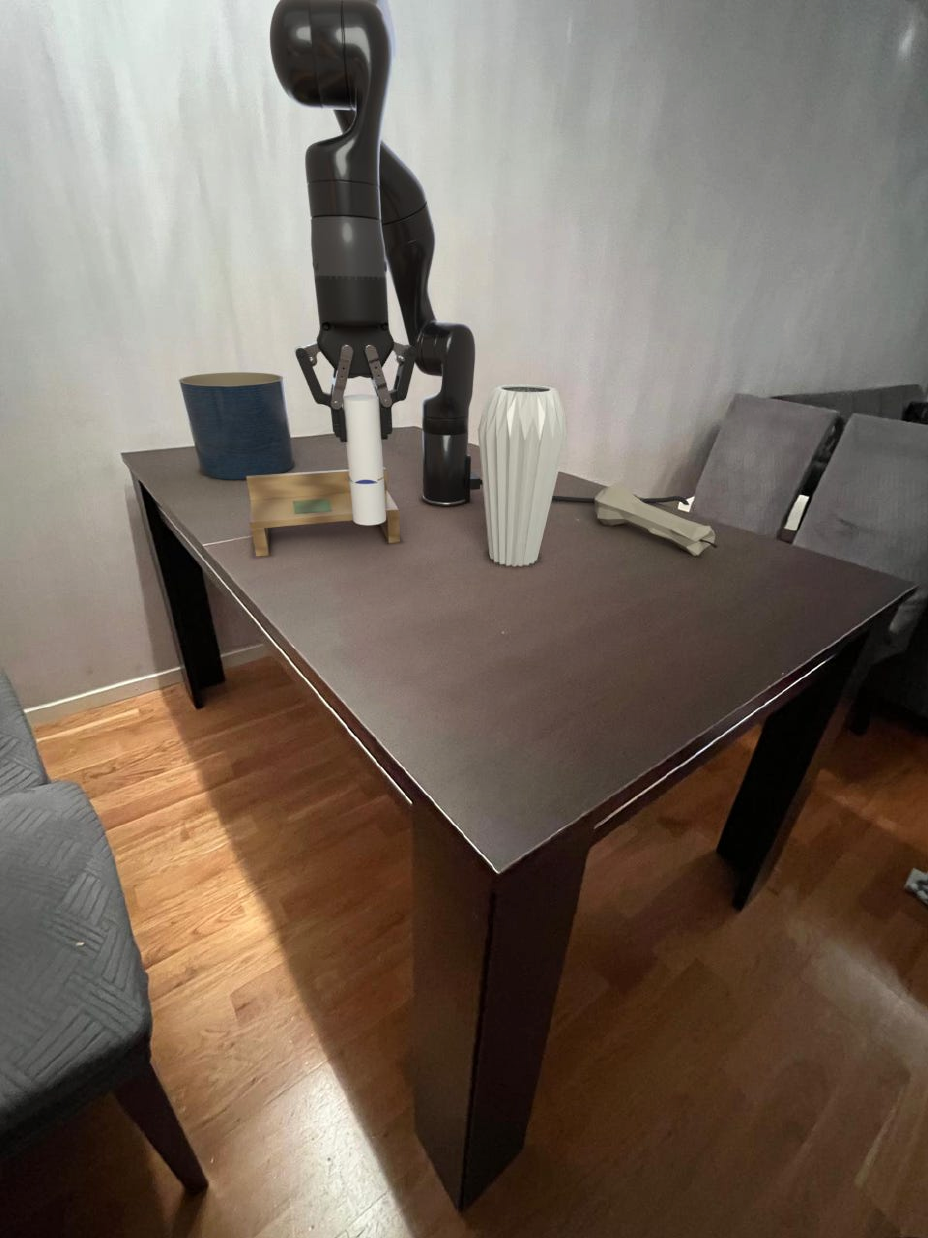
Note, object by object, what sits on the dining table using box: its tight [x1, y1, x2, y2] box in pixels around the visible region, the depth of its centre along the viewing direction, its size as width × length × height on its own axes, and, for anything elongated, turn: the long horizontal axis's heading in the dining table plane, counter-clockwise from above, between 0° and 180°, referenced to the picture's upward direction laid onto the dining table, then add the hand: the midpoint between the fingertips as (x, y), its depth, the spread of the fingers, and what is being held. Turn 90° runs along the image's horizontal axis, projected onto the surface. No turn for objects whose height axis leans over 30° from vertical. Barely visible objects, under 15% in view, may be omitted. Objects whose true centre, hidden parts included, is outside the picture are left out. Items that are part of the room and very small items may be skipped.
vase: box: [477, 383, 568, 568], centre depth 85 cm, size 13×13×26 cm
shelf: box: [246, 466, 401, 558], centre depth 95 cm, size 24×12×10 cm, turn 108°
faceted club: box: [594, 480, 719, 557], centre depth 98 cm, size 9×8×25 cm
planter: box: [178, 371, 294, 481], centre depth 129 cm, size 22×22×20 cm
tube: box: [342, 394, 386, 526], centre depth 68 cm, size 4×4×15 cm
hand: (363, 438), depth 66 cm, fingers closed on tube, 4 cm apart
